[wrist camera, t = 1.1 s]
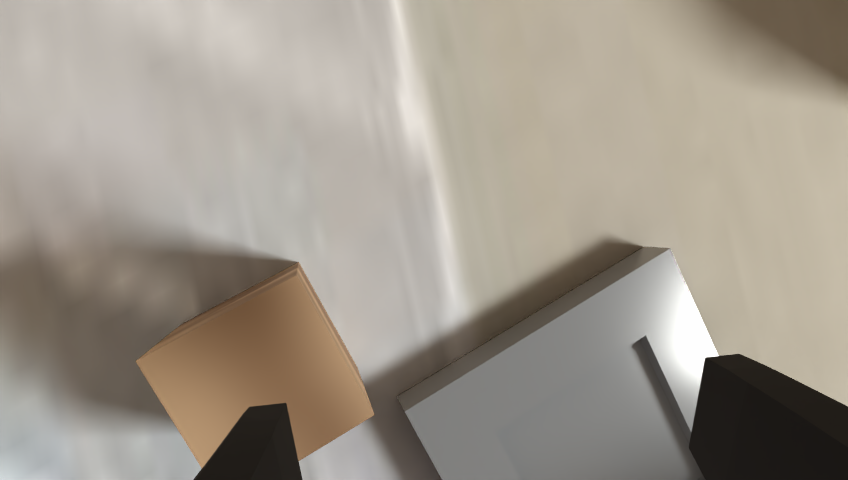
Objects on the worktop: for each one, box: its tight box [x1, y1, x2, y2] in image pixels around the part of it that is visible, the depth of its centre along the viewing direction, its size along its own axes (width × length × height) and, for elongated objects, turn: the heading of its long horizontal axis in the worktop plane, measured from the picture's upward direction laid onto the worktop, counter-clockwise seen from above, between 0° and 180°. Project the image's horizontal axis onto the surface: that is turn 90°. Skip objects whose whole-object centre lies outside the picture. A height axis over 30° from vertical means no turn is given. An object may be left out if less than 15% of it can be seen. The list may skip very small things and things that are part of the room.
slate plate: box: [397, 247, 718, 480], centre depth 21 cm, size 12×12×2 cm
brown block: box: [136, 262, 375, 468], centre depth 16 cm, size 4×4×5 cm
